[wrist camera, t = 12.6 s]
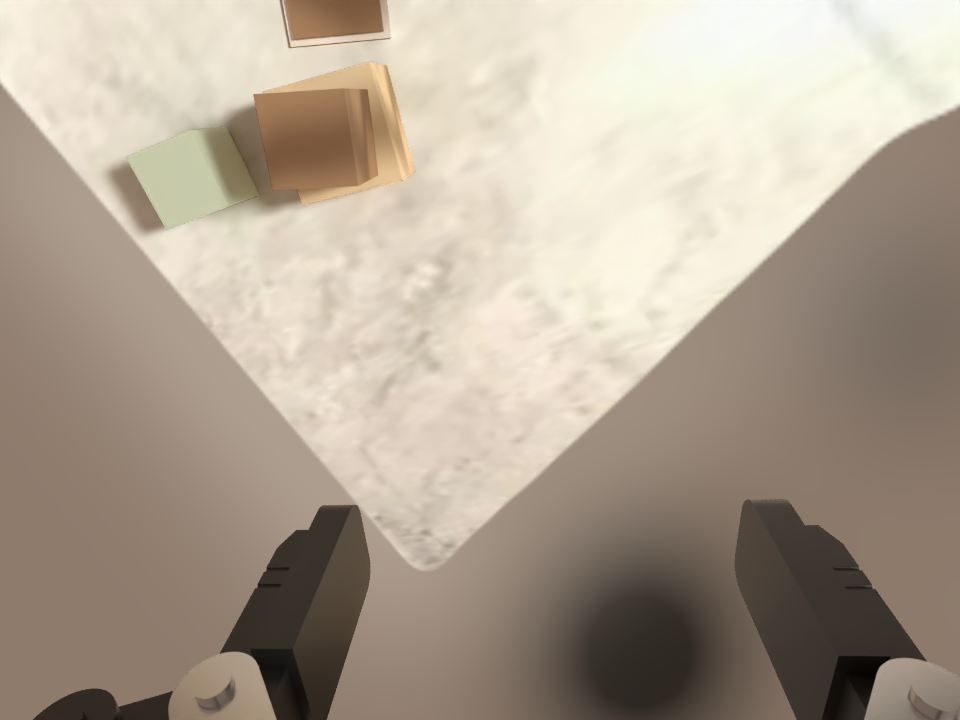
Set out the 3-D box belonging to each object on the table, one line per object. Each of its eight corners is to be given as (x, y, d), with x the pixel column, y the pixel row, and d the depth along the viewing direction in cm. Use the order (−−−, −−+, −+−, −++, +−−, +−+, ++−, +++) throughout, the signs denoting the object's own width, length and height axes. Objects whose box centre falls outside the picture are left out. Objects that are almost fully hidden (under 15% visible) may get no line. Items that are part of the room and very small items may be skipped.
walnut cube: (288, 94, 35) (253, 94, 31) (367, 89, 35) (344, 88, 30) (303, 179, 37) (272, 190, 33) (378, 175, 37) (357, 186, 32)
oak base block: (292, 92, 40) (262, 91, 35) (387, 65, 39) (369, 61, 34) (326, 193, 42) (302, 205, 38) (415, 171, 41) (402, 180, 37)
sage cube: (168, 150, 42) (125, 157, 37) (227, 126, 41) (190, 130, 36) (203, 216, 44) (166, 230, 39) (260, 195, 43) (229, 206, 38)
